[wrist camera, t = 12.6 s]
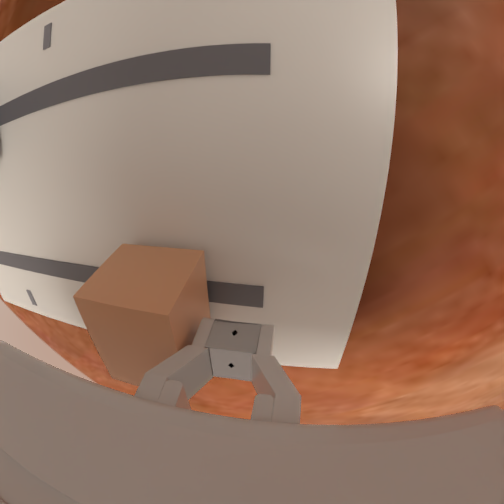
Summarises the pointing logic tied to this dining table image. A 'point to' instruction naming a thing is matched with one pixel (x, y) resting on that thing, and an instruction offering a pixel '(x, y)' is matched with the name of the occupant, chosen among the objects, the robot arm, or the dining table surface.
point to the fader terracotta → (144, 307)
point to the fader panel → (202, 154)
